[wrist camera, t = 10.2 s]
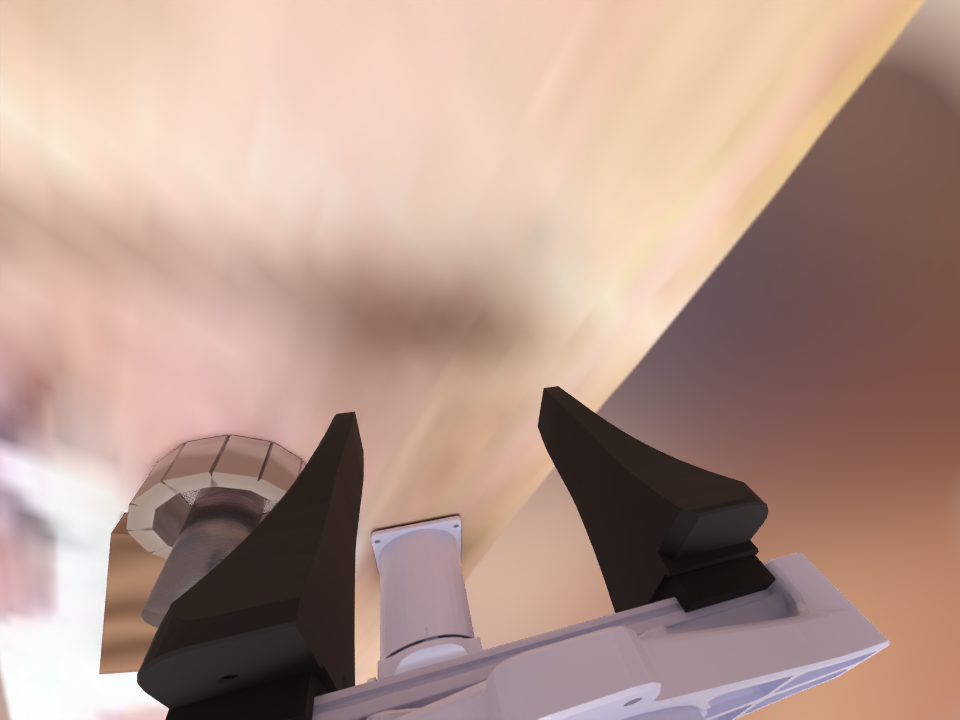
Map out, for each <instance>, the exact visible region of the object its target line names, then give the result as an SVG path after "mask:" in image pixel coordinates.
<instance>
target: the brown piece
mask: <svg viewBox="0 0 960 720" xmlns="http://www.w3.org/2000/svg"><path fill="white" fill-rule="evenodd" d="M270 443H271V442H270V441H264V440H258V439H252V438H246V437H240V436H234V435H231V436H230V438H229V437H228V436H227V435H224V436H219V437H213V438H207V439H201V440H196V441H190V442H187V443H186V444H184V443H183V444H182V445H181V446H179V447H178V448H177V449H175V450H174V451H172V452H171V453H170V454H168V455H167V456H165V457H164V458H163V459H161V460H160V461H159V462H157V464H156V465H155V467H154V468H153V470H152V471H151V473H150V474H149V476H148V477H147V479H146V480H145V482H144V483H143V485H142V486H141V488H140V489H139V491H138V492H137V494H136V495H135V497H134V498H133V500H132V501H131V503H130V504H129V510H128V513H125V514H124V515H123V517H122V518H121V520H120V521H119V523H118V524H117V526H116V527H115V529H114V530H113V531H112V533H111V541H110V553H109V565H108V577H107V588H106V600H105V612H104V624H103V636H102V648H101V660H100V672H99V674H110V673H124V672H138V671H139V669H140V667H141V665H142V663H143V660H144V658H145V656H146V654H147V651H148V649H149V647H150V645H151V642H152V640H153V638H154V636H155V633H156V631H157V629H158V628H156V627H153V626H151V625H149V624H147V623H146V622H145V621H144V620H143V619H142V616H141V613H142V610H143V608H144V606H145V604H146V602H147V600H148V598H149V596H150V594H151V591H152V589H153V587H154V585H155V583H156V581H157V579H158V577H159V575H160V573H161V571H162V569H163V566H164V564H165V562H166V560H167V558H168V556H169V554H170V552H171V550H172V548H173V546H174V543H175V541H176V539H177V537H178V535H179V533H180V531H181V529H182V527H183V525H184V523H185V521H186V518H187V516H188V514H189V512H190V510H191V508H192V506H190V505H189V504H188V503H187V502H186V501H185V499H184V498H183V497H182V496H181V494H180V493H182V492H187V491H192V490H197V489H202V488H207V487H213V486H216V487H225V488H234V489H243V490H251V491H253V492H255V493H257V494H259V495H261V496H263V497H265V498H267V499H269V500H271V501H273V502H275V503H276V504H277V503H278V502H279V501H280V500H281V498H282V497H283V496H284V495H285V493H286V492H287V491H288V490H289V488H290V487H291V486H292V484H293V483H294V482H295V480H296V479H297V477H298V476H299V474H300V473H301V472H302V470H303V469H304V467H305V464H304V462H303V461H302V462H301V459H300V458H298V457H297V456H295V455H293V454H292V453H290V452H288V451H287V450H285V449H283V448H282V447H280V446H278V445H277V444H275V443H273V444H272V445H270ZM268 514H269V513H265V514H262V517H261V520H260V522H261V521H262V520H263V519H264V518H265V517H266V516H267V515H268Z"/></svg>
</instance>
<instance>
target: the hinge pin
mask: <svg viewBox="0 0 960 720" xmlns="http://www.w3.org/2000/svg"><path fill="white" fill-rule="evenodd" d="M266 500H267V498H265V497H263V496H261V495H259V494H257V493H255V492H253V491H251V490H243V489H234V488H225V487H216V486H213V487H207V488H202V489H200V491H199V493H198V495H197V498H196V500H195V502H194V504H193V506H192V508H191V510H190V512H189V514H188V516H187V518H186V521H185V523H184V525H183V527H182V529H181V531H180V533H179V535H178V537H177V539H176V541H175V543H174V546H173V548H172V550H171V552H170V554H169V556H168V558H167V560H166V562H165V564H164V566H163V569H162V571H161V573H160V575H159V577H158V579H157V581H156V583H155V585H154V587H153V589H152V591H151V594H150V596H149V598H148V600H147V602H146V604H145V606H144V608H143V610H142V613H141V616H142V619H143V620H144V621H145V622H146V623H147V624H149V625H151V626H153V627H156V628H158V627H159V625H160V623H161V622H162V620H163V618H164V616H165V615H166V613H167V611H168V609H169V607H170V605H171V604H172V603H173V602H174V601H175V600H176V599H178V598H179V597H180V596H181V595H183V594H184V593H185V592H186V591H187V590H189V589H190V588H191V587H192V586H193V585H195V584H196V583H197V582H198V581H199V580H201V579H202V578H203V577H204V576H205V575H207V574H208V573H209V572H210V571H211V570H212V569H213V568H215V567H216V566H217V565H218V564H219V563H220V562H221V561H222V560H223V559H224V558H225V557H226V556H227V555H229V554H230V553H231V552H232V551H233V550H234V549H235V548H236V547H237V546H238V545H239V544H240V543H241V542H242V541H243V540H244V539H245V538H246V537H247V536H248V535H249V534H250V533H251V532H252V531H253V530H254V529H255V528H256V527H257V526H258V525H259V524H260V520H261V517H262V513H263V510H264V506H265V503H266Z"/></svg>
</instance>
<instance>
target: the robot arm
mask: <svg viewBox="0 0 960 720" xmlns="http://www.w3.org/2000/svg"><path fill="white" fill-rule="evenodd" d="M538 428H539V431H540V434H541V437H542V439H543V442H544V445H545V447H546V449H547V451H548V453H549V455H550V457H551V459H552V461H553V463H554V465H555V467H556V468H557V470H558V472H559V474H560V476H561V478H562V479H563V481H564V483H565V485H566V487H567V489H568V491H569V492H570V494H571V496H572V498H573V500H574V502H575V504H576V506H577V509H578V511H579V514H580V516H581V519H582V521H583V523H584V526H585V528H586V531H587V533H588V536H589V539H590V541H591V544H592V546H593V549H594V551H595V554H596V557H597V560H598V563H599V565H600V568H601V571H602V574H603V577H604V580H605V583H606V586H607V589H608V592H609V595H610V598H611V601H612V604H613V607H614V610H615V614H612V615H608V616H604V617H601V618H597V619H594V620H590V621H586V622H583V623H579V624H576V625H572V626H568V627H565V628H562V629H558V630H554V631H551V632H547V633H543V634H540V635H536V636H533V637H529V638H525V639H522V640H518V641H515V642H511V643H507V644H504V645H500V646H497V647H493V648H490V649H486V650H482V646H481V641H480V638H479V637H477V638H474V633H473V627H472V622H471V616H470V611H469V605H468V600H467V595H466V589H465V584H464V578H463V573H462V568H461V518H460V517H459V516H453V517H448V518H442V519H437V520H432V521H427V522H421V523H416V524H411V525H406V526H401V527H395V528H390V529H385V530H380V531H375V532H373V533H372V534H371V542H372V546H373V550H374V555H375V559H376V564H377V568H378V572H379V577H380V660H379V661H378V680H376V677H374V678H370V679H368V681H367V683H364V684H360V685H357V686H355V647H354V609H355V550H356V537H357V529H358V521H359V513H360V504H361V496H362V487H363V477H364V458H363V448H362V443H361V438H360V434H359V429H358V424H357V419H356V415H355V412H349V413H341V414H336V415H335V416H334V418H333V420H332V422H331V424H330V426H329V428H328V430H327V432H326V433H325V435H324V437H323V439H322V440H321V442H320V444H319V446H318V447H317V449H316V450H315V452H314V454H313V455H312V457H311V458H310V460H309V462H308V463H307V465H306V466H305V467H304V469H303V470H302V472H301V473H300V474H299V476H298V477H297V479H296V480H295V482H294V483H293V484H292V486H291V487H290V488H289V490H288V491H287V492H286V493H285V495H284V496H283V497H282V498H281V500H280V501H279V502H278V503H277V504H276V506H275V507H274V508H273V509H272V510H271V511H270V512H269V514H268V515H267V516H266V517H265V518H264V519H263V520H262V521H261V522H260V524H259V525H258V526H257V527H256V528H255V529H254V530H253V531H252V532H251V533H250V534H249V535H248V536H247V537H246V538H245V539H244V540H243V541H242V542H241V543H240V544H239V545H238V546H237V547H236V548H235V549H234V550H233V551H232V552H231V553H230V554H229V555H227V556H226V557H225V558H224V559H223V560H222V561H221V562H220V563H219V564H218V565H217V566H216V567H215V568H213V569H212V570H211V571H210V572H209V573H208V574H207V575H205V576H204V577H203V578H202V579H201V580H199V581H198V582H197V583H196V584H195V585H193V586H192V587H191V588H190V589H189V590H187V591H186V592H185V593H184V594H183V595H181V596H180V597H179V598H178V599H176V600H175V601H174V602H173V603H172V604H171V605H170V607H169V609H168V611H167V613H166V615H165V616H164V618H163V620H162V622H161V623H160V625H159V627H158V629H157V631H156V633H155V636H154V638H153V640H152V642H151V645H150V647H149V649H148V651H147V654H146V656H145V658H144V660H143V663H142V665H141V667H140V669H139V672H138V674H137V683H138V684H139V686H140V687H141V688H142V689H143V690H144V691H145V692H146V693H147V694H149V695H150V696H152V697H153V698H155V699H156V700H158V701H159V702H160V703H162V704H163V705H165V706H166V707H168V708H169V711H168V714H167V717H166V720H735V719H737V718H739V717H742V716H744V715H746V714H749V713H751V712H753V711H756V710H758V709H760V708H763V707H765V706H767V705H770V704H772V703H775V702H777V701H779V700H782V699H784V698H786V697H789V696H791V695H794V694H796V693H799V692H801V691H804V690H806V689H809V688H811V687H814V686H817V685H819V684H822V683H824V682H827V681H830V680H832V679H835V678H837V677H839V676H840V675H842V674H843V673H845V672H847V671H848V670H850V669H852V668H853V667H855V666H856V665H858V664H860V663H861V662H863V661H864V660H866V659H868V658H869V657H871V656H873V655H874V654H876V653H878V652H879V651H881V650H882V649H884V648H886V647H887V646H889V645H890V643H889V640H888V639H887V638H886V637H885V636H884V635H883V634H882V633H881V632H880V631H879V630H878V629H877V628H876V627H875V626H874V625H873V624H872V623H871V622H870V621H869V620H868V619H867V618H866V617H865V616H864V615H863V614H862V613H861V612H860V611H859V610H858V609H857V608H856V607H855V606H854V605H853V604H852V603H851V602H850V601H849V600H848V599H847V598H846V597H845V596H844V595H843V594H842V593H841V592H840V591H839V590H838V589H837V588H836V587H835V586H834V585H833V584H832V583H831V582H830V581H829V580H828V579H827V578H826V577H825V576H824V575H823V574H822V573H821V572H820V571H819V569H818V568H817V567H815V566H814V564H813V563H811V562H810V560H809V559H808V558H807V557H806V556H805V555H804V554H803V553H801V552H795V553H791V554H787V555H784V556H780V557H776V558H773V559H771V560H768V561H767V562H765V563H764V564H762V562H761V561H760V560H759V559H758V558H757V557H756V556H755V554H757V553H758V552H759V551H758V548H756V546H755V545H754V544H753V543H752V542H751V541H750V539H751V538H752V537H753V535H754V534H755V533H756V532H757V530H758V529H759V528H760V527H761V525H762V524H763V523H764V521H765V519H766V518H767V514H768V507H767V504H766V503H764V502H763V501H762V500H761V499H760V498H759V497H758V496H757V495H756V494H755V493H754V492H753V491H752V490H751V489H750V488H749V487H748V486H747V485H746V484H745V483H744V482H741V481H738V480H735V479H731V478H728V477H725V476H722V475H718V474H715V473H712V472H709V471H707V470H704V469H701V468H698V467H696V466H693V465H691V464H688V463H686V462H683V461H681V460H678V459H676V458H674V457H672V456H669V455H667V454H665V453H663V452H661V451H658V450H656V449H654V448H652V447H650V446H648V445H646V444H644V443H642V442H641V441H639V440H637V439H635V438H633V437H632V436H630V435H628V434H626V433H625V432H623V431H621V430H620V429H618V428H617V427H615V426H614V425H612V424H610V423H609V422H607V421H606V420H604V419H603V418H601V417H600V416H598V415H597V414H596V413H594V412H593V411H591V410H590V409H589V408H587V407H586V406H584V405H583V404H582V403H580V402H579V401H578V400H576V399H575V398H574V397H572V396H571V395H570V394H568V393H567V392H565V391H564V390H563V389H561V388H560V387H558V386H557V387H549V388H544V390H543V396H542V403H541V409H540V415H539V422H538Z"/></svg>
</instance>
